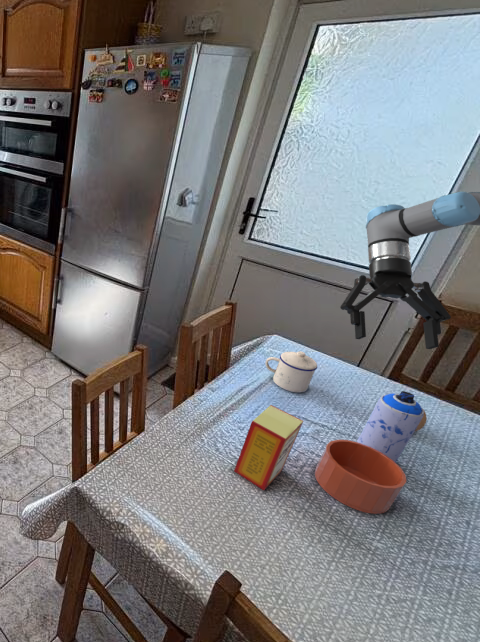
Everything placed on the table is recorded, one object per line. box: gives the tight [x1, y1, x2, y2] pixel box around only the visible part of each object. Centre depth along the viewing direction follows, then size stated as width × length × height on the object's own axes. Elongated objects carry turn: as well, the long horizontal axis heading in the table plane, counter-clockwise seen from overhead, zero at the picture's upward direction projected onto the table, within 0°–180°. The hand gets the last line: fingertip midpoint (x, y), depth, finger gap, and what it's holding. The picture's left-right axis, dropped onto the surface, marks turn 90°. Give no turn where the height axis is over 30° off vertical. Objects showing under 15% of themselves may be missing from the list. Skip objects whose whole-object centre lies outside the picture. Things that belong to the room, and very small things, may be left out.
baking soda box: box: [233, 404, 304, 491], centre depth 95 cm, size 10×6×16 cm
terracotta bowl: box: [314, 439, 407, 515], centre depth 92 cm, size 13×13×8 cm
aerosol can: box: [356, 390, 425, 464], centre depth 97 cm, size 8×8×20 cm
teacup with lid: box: [264, 350, 318, 394], centre depth 126 cm, size 12×9×12 cm
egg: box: [414, 408, 428, 433], centre depth 108 cm, size 5×5×8 cm
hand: (395, 342), depth 99 cm, fingers open, 13 cm apart
